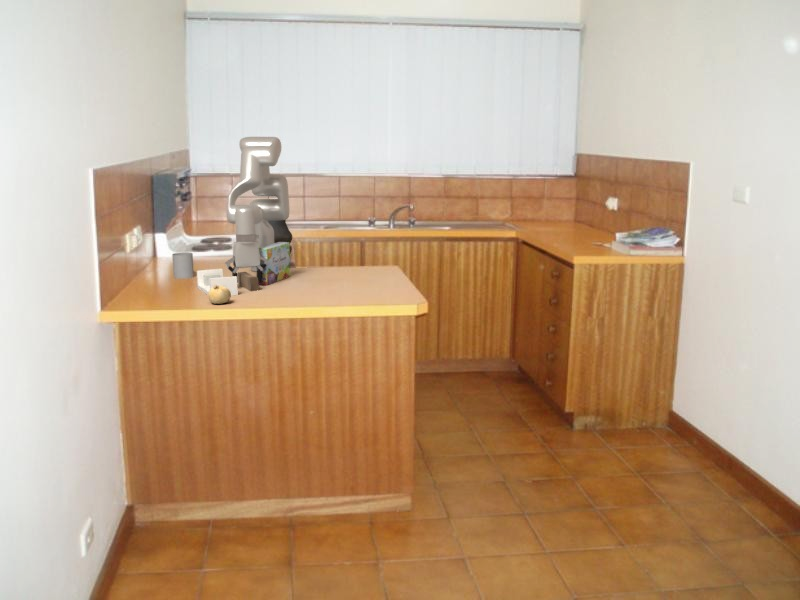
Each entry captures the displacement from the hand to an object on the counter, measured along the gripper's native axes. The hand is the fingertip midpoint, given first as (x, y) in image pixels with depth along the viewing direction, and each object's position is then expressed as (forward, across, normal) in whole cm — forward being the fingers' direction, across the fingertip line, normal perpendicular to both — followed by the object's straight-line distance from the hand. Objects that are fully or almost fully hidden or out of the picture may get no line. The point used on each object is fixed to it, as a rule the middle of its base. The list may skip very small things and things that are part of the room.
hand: (247, 281), depth 309 cm
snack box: (+2, -14, -9) cm, 17 cm away
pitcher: (+2, -37, -76) cm, 85 cm away
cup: (+2, +17, -36) cm, 40 cm away
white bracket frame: (+2, +13, +2) cm, 13 cm away
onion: (+3, +18, +24) cm, 30 cm away
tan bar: (+2, 0, 0) cm, 2 cm away
